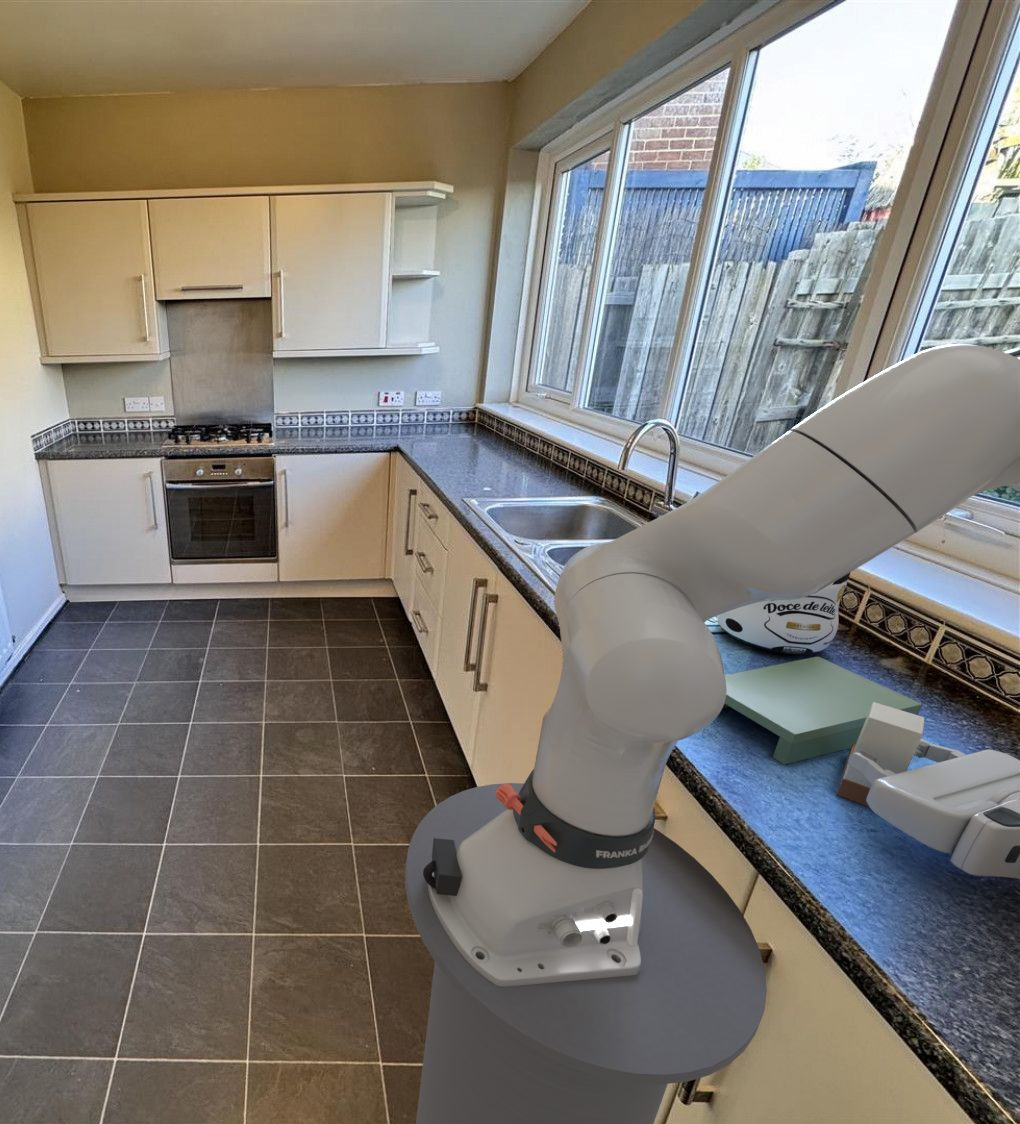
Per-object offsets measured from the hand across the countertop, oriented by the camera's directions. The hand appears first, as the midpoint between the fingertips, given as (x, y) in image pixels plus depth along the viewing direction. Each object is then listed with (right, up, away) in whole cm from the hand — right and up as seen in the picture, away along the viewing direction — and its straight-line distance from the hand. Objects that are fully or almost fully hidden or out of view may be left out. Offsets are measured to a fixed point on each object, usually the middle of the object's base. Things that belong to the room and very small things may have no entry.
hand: (881, 749), depth 76 cm
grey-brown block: (+2, -6, +4) cm, 7 cm away
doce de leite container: (+18, +8, +40) cm, 45 cm away
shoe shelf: (+4, -1, +17) cm, 18 cm away
